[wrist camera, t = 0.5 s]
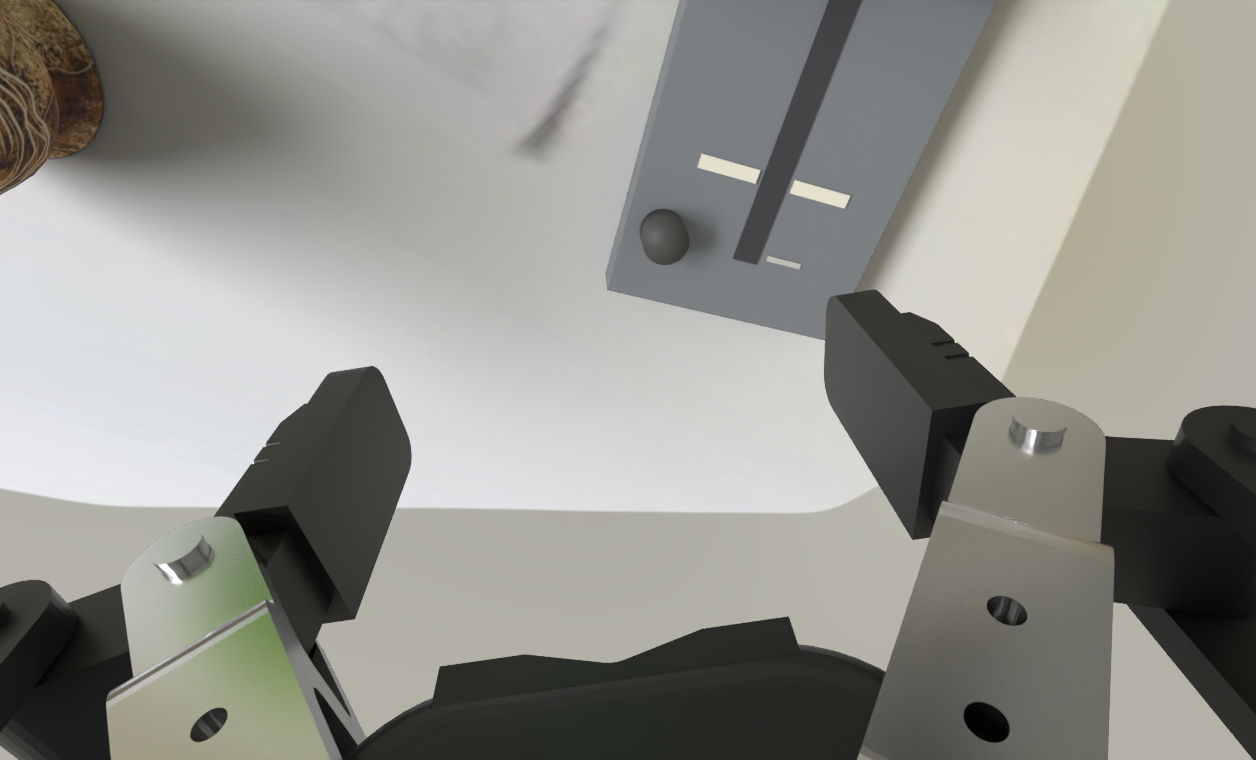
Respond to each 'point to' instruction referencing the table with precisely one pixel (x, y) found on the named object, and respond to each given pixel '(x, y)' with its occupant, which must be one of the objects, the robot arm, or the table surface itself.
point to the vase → (43, 89)
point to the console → (783, 150)
